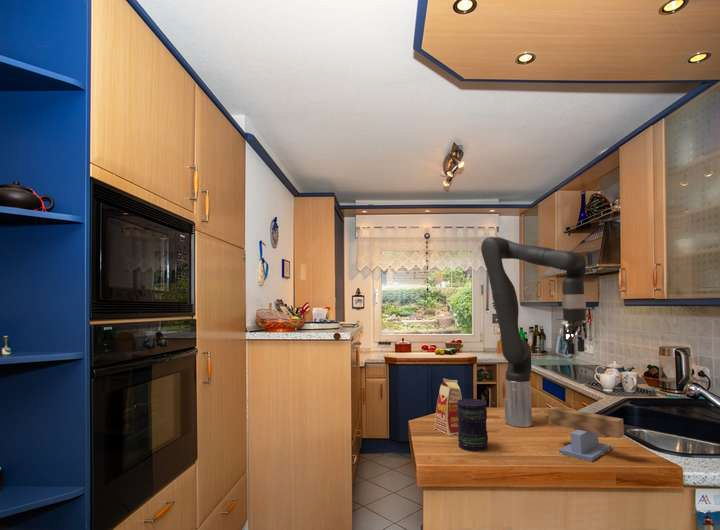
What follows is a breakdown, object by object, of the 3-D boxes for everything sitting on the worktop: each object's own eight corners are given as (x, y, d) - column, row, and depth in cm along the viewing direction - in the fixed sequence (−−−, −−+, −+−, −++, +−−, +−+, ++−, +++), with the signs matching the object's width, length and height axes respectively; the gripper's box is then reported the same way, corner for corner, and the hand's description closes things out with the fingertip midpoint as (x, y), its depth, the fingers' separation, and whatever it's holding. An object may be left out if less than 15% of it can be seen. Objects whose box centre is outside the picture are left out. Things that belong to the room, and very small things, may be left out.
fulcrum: (559, 453, 143) (558, 431, 144) (579, 441, 154) (578, 421, 154) (592, 461, 136) (590, 438, 136) (611, 449, 147) (610, 427, 147)
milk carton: (448, 436, 163) (447, 380, 164) (433, 429, 171) (432, 376, 172) (468, 432, 167) (466, 378, 168) (452, 426, 175) (450, 374, 176)
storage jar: (487, 453, 145) (485, 406, 146) (456, 450, 148) (454, 404, 149) (489, 443, 154) (487, 399, 155) (460, 440, 157) (459, 397, 158)
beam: (548, 423, 152) (548, 408, 153) (554, 421, 155) (553, 406, 155) (619, 438, 136) (618, 421, 136) (624, 435, 139) (623, 418, 139)
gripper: (571, 306, 167) (574, 350, 166) (554, 307, 158) (556, 354, 157) (592, 306, 162) (595, 351, 161) (576, 307, 152) (578, 355, 151)
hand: (576, 352), depth 159 cm, fingers open, 8 cm apart
